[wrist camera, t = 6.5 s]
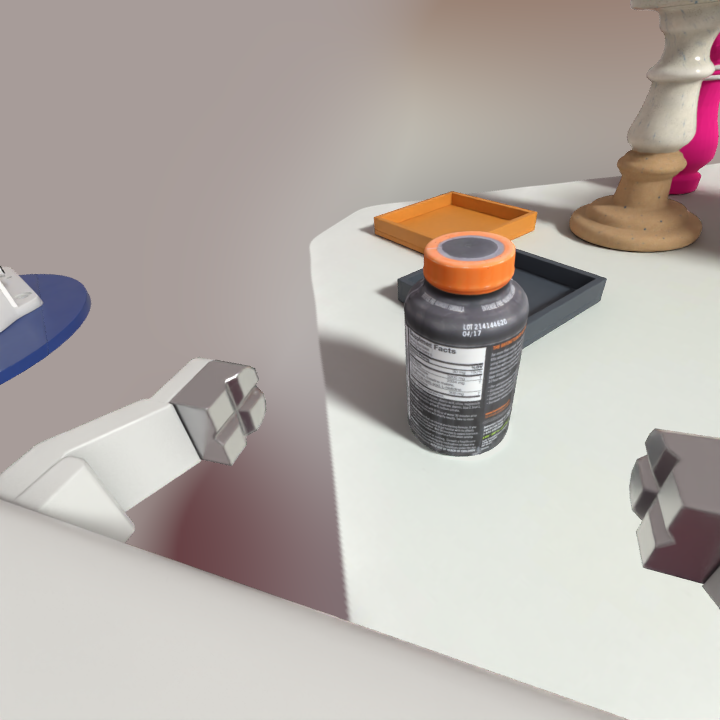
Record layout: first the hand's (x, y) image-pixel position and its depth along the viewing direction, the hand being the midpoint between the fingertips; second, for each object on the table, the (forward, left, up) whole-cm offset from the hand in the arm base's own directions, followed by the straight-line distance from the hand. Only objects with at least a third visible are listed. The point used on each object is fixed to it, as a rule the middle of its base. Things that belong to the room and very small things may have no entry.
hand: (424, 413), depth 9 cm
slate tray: (-15, +22, -12) cm, 30 cm away
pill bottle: (-7, +9, -13) cm, 17 cm away
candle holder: (-15, +44, -13) cm, 49 cm away
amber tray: (-29, +31, -12) cm, 45 cm away
